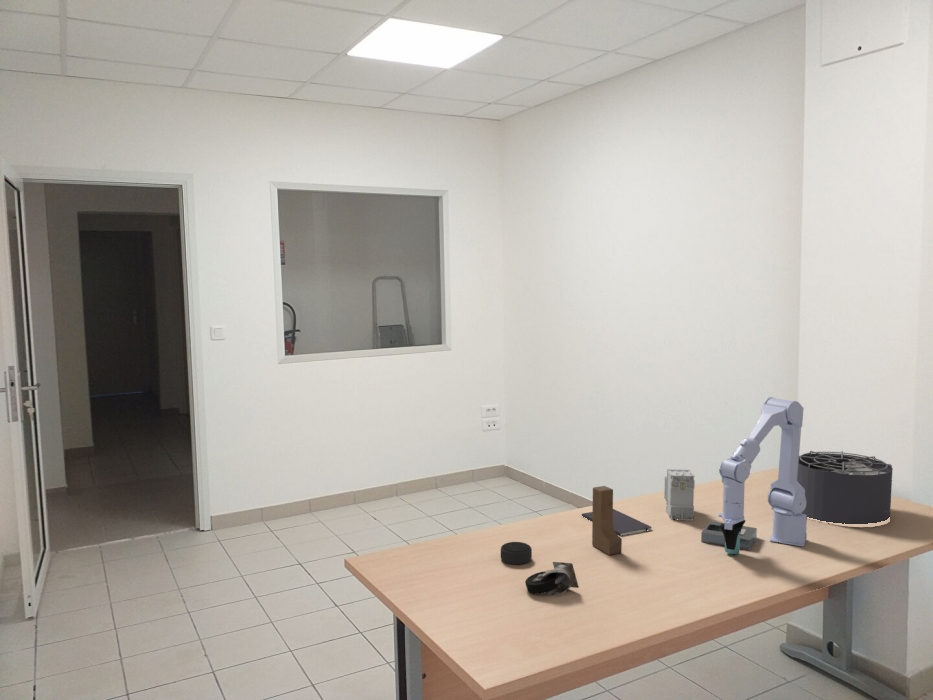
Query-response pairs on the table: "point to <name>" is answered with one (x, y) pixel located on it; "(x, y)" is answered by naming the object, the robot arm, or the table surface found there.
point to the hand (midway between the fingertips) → (732, 546)
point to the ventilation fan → (845, 487)
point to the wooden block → (604, 522)
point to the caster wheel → (553, 580)
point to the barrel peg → (735, 547)
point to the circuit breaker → (679, 494)
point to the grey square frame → (716, 536)
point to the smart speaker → (516, 553)
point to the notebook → (623, 523)
